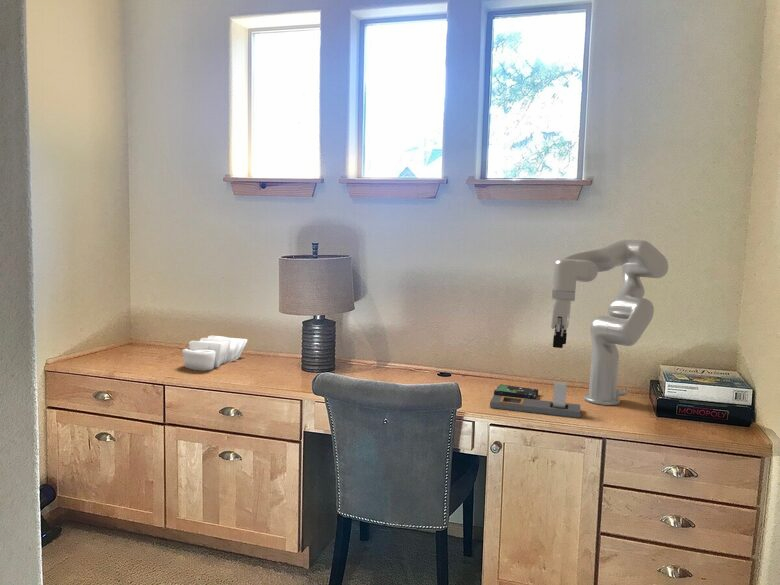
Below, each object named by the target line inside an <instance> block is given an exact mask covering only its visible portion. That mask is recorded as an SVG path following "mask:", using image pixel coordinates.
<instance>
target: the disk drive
mask: <svg viewBox="0 0 780 585" xmlns="http://www.w3.org/2000/svg"><path fill="white" fill-rule="evenodd" d="M494 395H498V396H507V397H516V398H525V399H534V400H536V398H537V397H538V396H539V389H536V388H530V387H521V386H515V385H508V384H499V385H498V386H497V387H496V388H495V389H494V391H493V396H494Z"/></svg>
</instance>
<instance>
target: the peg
mask: <svg viewBox="0 0 780 585" xmlns="http://www.w3.org/2000/svg"><path fill="white" fill-rule="evenodd" d="M567 383H568V382H563V381H554V383H553V384H554V386H553V396H552V398H553V399H552V402H553V408H561V409H565V403H567V402H566V401H567V400H566V399H567V385H568V384H567Z"/></svg>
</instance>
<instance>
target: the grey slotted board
mask: <svg viewBox="0 0 780 585" xmlns="http://www.w3.org/2000/svg"><path fill="white" fill-rule="evenodd" d="M490 407H491V408H490ZM489 408H490V409H497V408H500V409H499V410H506V409H508V411H514V410H515V411H517V412H523V413H533V414H541V415H550V416H557V417H569V418H575V419H580V418H581V404H577V403H568V402H565V409H561V408H553V400H552V401H551V400H550V401H549V400H543V399H542V400H541V399H525V398H516V397H507V396H498V395H494V394H493V396H492V398H491V400H490V401H489ZM515 411H514V412H515Z"/></svg>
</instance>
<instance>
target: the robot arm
mask: <svg viewBox="0 0 780 585" xmlns="http://www.w3.org/2000/svg"><path fill="white" fill-rule="evenodd" d="M618 267H621V270H622V272H621V274H622V286H620V289H619V290H618V292H616V294H615V296H614V297H613V299H612V300H611V302H610V303H609V306H608V307H607V314H608V315H599V316H596V317H595V318H593V320H592V321H591V323H590V329H589V331H590V337H591V339H590V340H591V357H590V358H591V360H590V372H589V384H588V385H589V386H588V393H587V394H584V397H583V398H584V399H583V400H585V401H586V402H588V403H592V404H594V405H595V404H596V405H602V406H617V405H619V404H620V403H621V399H620V398H619V397H620V396H621V397H623V396H627V395H628V392H627V390H625V389H624V390H620V389H617V387H618V372H619V358H620V355H619V350H618V348H617V345H619V346H625V347H631V346H634V345H636V343H637V342H638V341H639V340H640V339H641V337H642V335H643V333H644V332H645V331H646V329H647V327H648V326H649V325H650V323H651V322H652V320H653V317H654V312H655V311H654V310H655V308H654V305H653V303H652V301H651V300H649V299H648V298H645V297H644V296H645V293H646V292H645V287H644V285H643V283H642V279H641V278H648V279H649V278H650V279H661V278H663V277H665V276H666V275H667V273H668V271H669V262H668V259H667V258H666V257H665V255H663V253H661V252H660V250H659V249H658V248H656V247H655V246H654V245H653V244H652V243H650V242H649V241H646V240H640V239H638V240H637V239H622V240H617V241H616V242H613V243H611V244H608V245H606V246H604V247H601V248H596V249H591V250H588V251H583V252H578V253H573V254H571V255H568V256H566V257H564V258H562V259H561V258H560V259H557V260H555V261H554V268H553V280H552V282H553V283H552V292H551V300H553V301H554V302H553V306H552V307H553V309H552V317H551V326H550V329H551V330H554V333H553V340H552V347H553V348H557V349H563V348H564V345H566V344H567V336H568V333H567V329H568V328H569V324H570V318H571V308H572V307H571V306H572V302H575V300H576V291H577V290H576V287H577V282H579V283H580V282H581V283H582V282H583V283H589V282H592V281H594V280H595V279H596V278H597V276H598V274H599V273H602V272H609V271H611V270H614V269H617V268H618Z"/></svg>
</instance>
